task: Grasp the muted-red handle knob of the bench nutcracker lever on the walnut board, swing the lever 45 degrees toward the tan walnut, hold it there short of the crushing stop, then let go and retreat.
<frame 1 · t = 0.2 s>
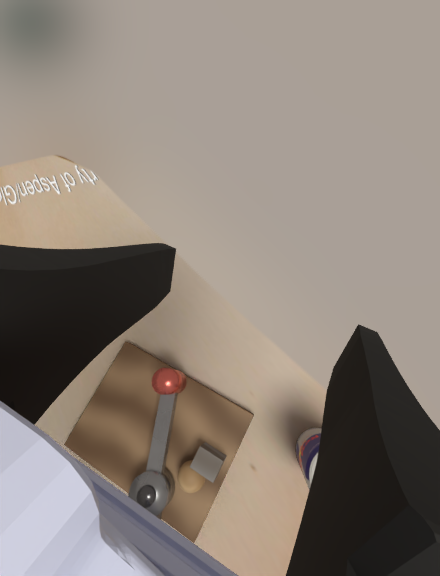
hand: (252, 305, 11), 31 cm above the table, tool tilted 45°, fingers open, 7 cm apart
lever: (157, 451, 35), point 4 cm above the table, hinge at 0.0°
energy drink: (318, 451, 36), on the table
board: (159, 429, 40), on the table
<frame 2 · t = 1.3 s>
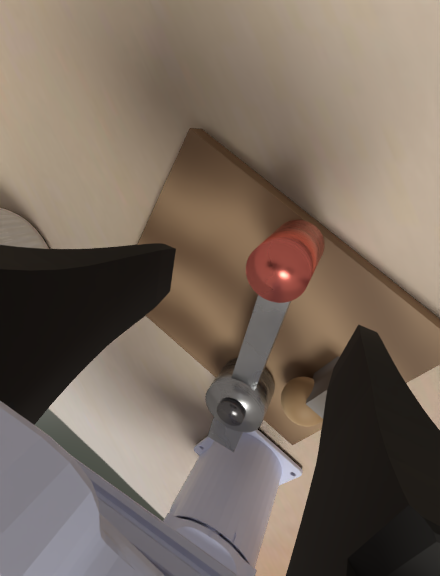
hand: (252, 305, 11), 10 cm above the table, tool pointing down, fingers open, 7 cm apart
lever: (251, 361, 20), point 4 cm above the table, hinge at 0.0°
ramekin: (26, 257, 34), on the table
board: (256, 303, 23), on the table
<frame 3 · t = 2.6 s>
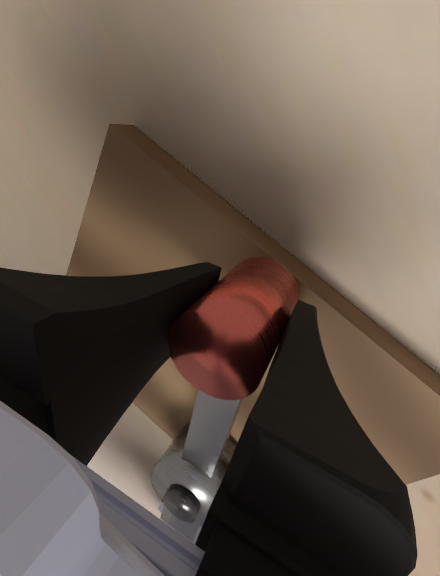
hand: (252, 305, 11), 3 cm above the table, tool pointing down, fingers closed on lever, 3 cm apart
lever: (203, 443, 15), point 4 cm above the table, hinge at 0.0°, touching gripper
board: (218, 354, 17), on the table
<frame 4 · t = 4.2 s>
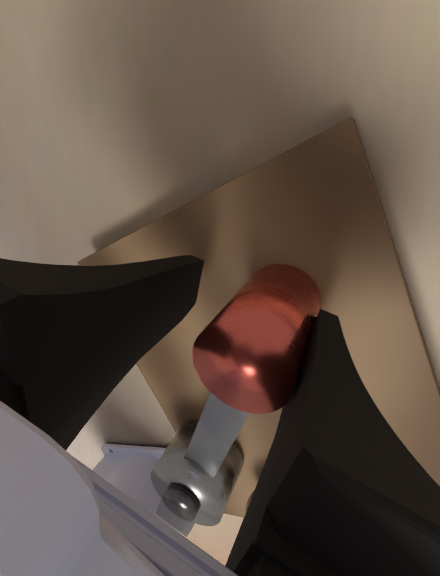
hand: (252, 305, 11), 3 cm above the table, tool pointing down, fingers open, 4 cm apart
lever: (209, 445, 14), point 4 cm above the table, hinge at 25.5°, touching gripper
board: (269, 377, 17), on the table
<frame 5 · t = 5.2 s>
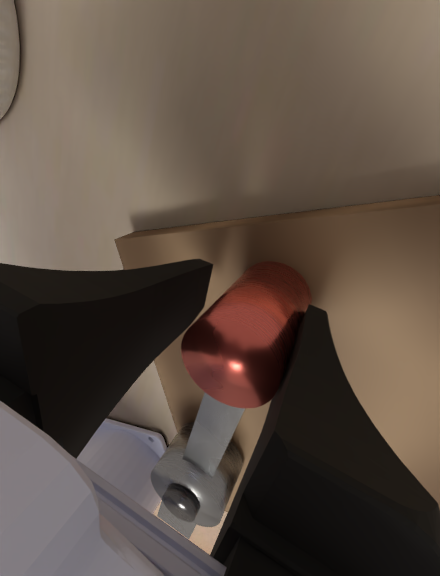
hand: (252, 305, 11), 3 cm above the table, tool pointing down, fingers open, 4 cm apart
lever: (206, 444, 14), point 4 cm above the table, hinge at 42.4°, touching gripper
board: (290, 399, 16), on the table
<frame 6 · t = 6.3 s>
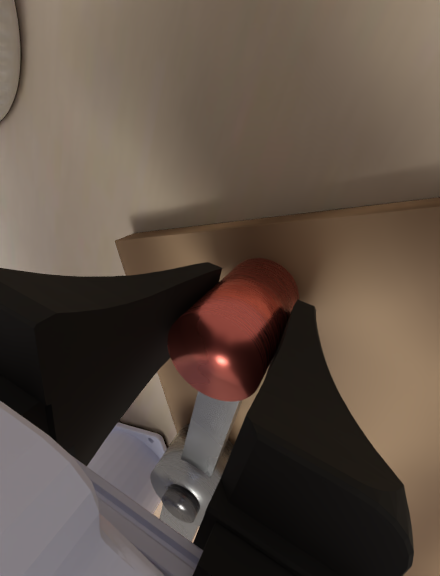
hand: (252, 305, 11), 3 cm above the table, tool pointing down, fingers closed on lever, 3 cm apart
lever: (203, 443, 15), point 4 cm above the table, hinge at 44.8°, touching gripper
board: (290, 400, 17), on the table
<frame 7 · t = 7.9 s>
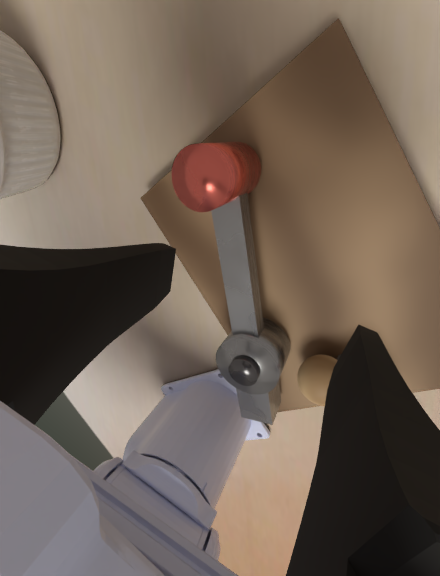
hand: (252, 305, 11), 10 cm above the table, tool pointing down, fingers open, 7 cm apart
lever: (240, 305, 19), point 4 cm above the table, hinge at 44.9°
ramekin: (19, 116, 26), on the table
board: (303, 266, 20), on the table
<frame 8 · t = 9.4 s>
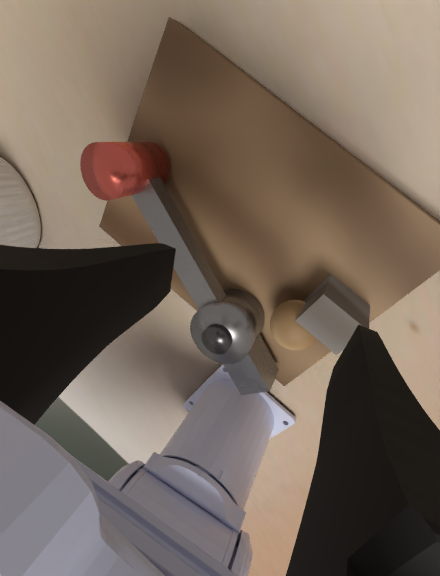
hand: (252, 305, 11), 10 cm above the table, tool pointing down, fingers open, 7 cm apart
lever: (192, 277, 20), point 4 cm above the table, hinge at 44.9°
ramekin: (8, 206, 32), on the table
board: (244, 228, 21), on the table
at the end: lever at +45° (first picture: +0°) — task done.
